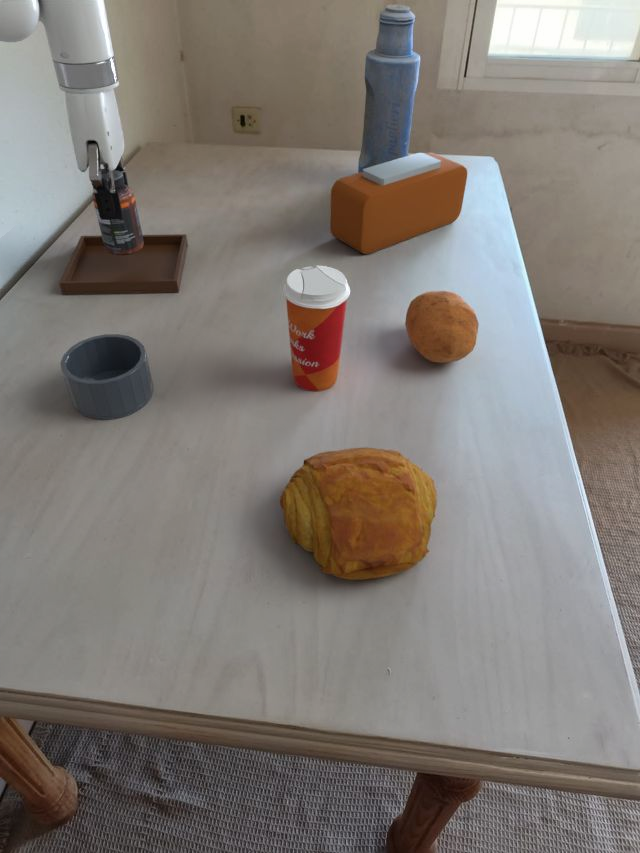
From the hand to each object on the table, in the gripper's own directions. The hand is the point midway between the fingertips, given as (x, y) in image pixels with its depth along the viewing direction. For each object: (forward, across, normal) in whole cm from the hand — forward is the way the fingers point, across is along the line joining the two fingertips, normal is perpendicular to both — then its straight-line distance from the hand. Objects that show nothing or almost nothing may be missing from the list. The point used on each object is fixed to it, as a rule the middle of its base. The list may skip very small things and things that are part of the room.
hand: (115, 207), depth 93 cm
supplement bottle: (+7, 0, 0) cm, 7 cm away
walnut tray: (+10, 0, 0) cm, 10 cm away
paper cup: (+10, +29, +28) cm, 42 cm away
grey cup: (+10, +31, +3) cm, 33 cm away
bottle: (+10, -33, +45) cm, 57 cm away
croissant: (+10, +53, +31) cm, 62 cm away
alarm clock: (+10, -12, +45) cm, 48 cm away
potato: (+10, +24, +45) cm, 52 cm away
